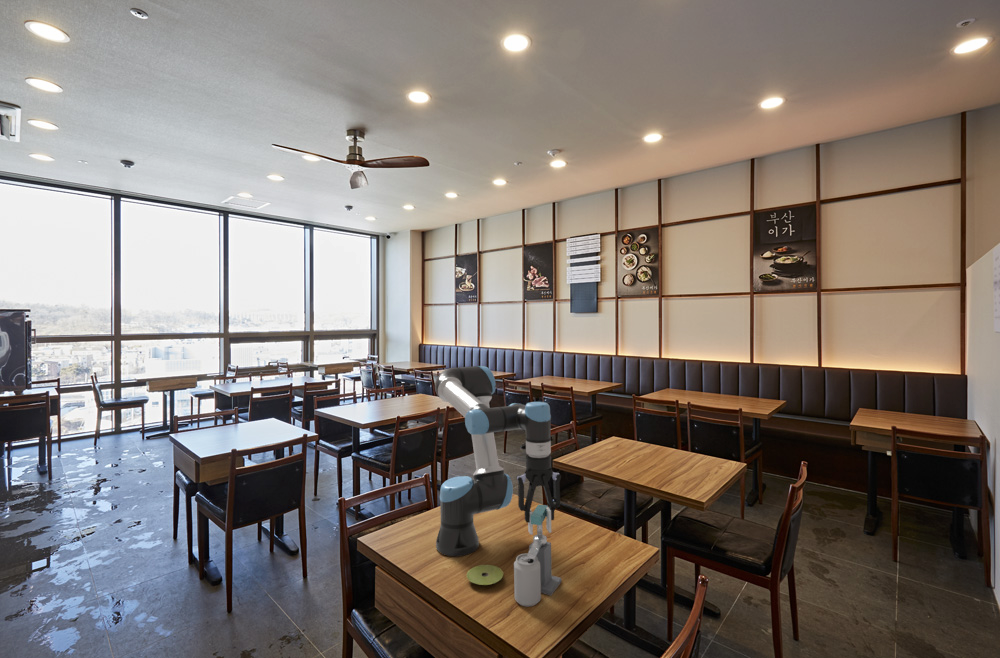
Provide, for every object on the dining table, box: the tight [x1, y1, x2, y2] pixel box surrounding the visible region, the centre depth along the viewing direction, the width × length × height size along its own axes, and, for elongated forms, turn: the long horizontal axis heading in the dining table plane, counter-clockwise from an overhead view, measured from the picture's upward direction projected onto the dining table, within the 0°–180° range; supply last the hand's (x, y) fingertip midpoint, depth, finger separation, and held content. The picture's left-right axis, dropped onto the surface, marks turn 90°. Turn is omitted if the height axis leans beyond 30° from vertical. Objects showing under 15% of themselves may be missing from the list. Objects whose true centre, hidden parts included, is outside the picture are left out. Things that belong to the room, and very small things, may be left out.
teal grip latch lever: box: [527, 504, 549, 559], centre depth 132 cm, size 4×15×10 cm, turn 161°
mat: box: [466, 564, 504, 586], centre depth 138 cm, size 11×11×2 cm
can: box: [513, 552, 542, 608], centre depth 127 cm, size 8×8×12 cm
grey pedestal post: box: [528, 541, 562, 596], centre depth 135 cm, size 10×8×12 cm
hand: (539, 531), depth 135 cm, fingers closed on teal grip latch lever, 5 cm apart
